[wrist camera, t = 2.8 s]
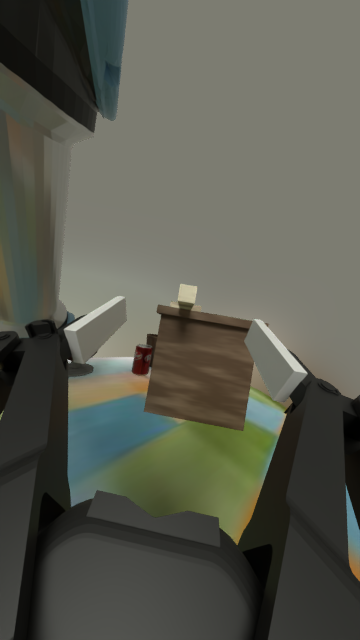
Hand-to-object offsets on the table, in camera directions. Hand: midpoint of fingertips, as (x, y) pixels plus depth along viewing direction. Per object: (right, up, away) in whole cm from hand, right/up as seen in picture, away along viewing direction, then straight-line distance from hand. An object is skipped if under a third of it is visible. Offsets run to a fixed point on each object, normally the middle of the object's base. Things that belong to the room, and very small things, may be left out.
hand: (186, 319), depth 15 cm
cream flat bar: (+1, +3, +22) cm, 23 cm away
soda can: (-18, -24, +47) cm, 56 cm away
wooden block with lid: (+3, -26, +27) cm, 38 cm away
